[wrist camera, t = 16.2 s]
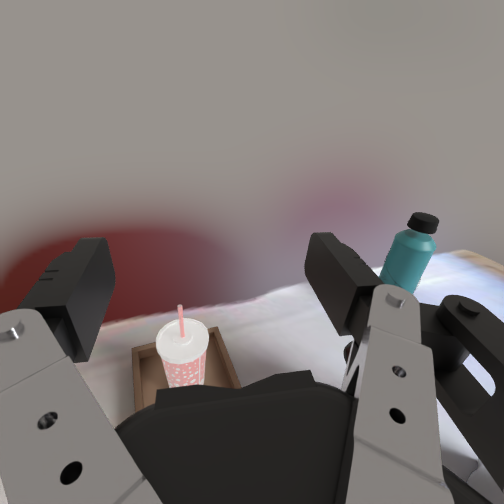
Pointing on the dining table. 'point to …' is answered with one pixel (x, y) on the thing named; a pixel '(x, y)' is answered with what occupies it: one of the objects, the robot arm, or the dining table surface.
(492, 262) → the dining table surface
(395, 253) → the beverage bottle
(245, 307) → the dining table surface
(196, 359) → the beverage cup
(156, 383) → the walnut tray
